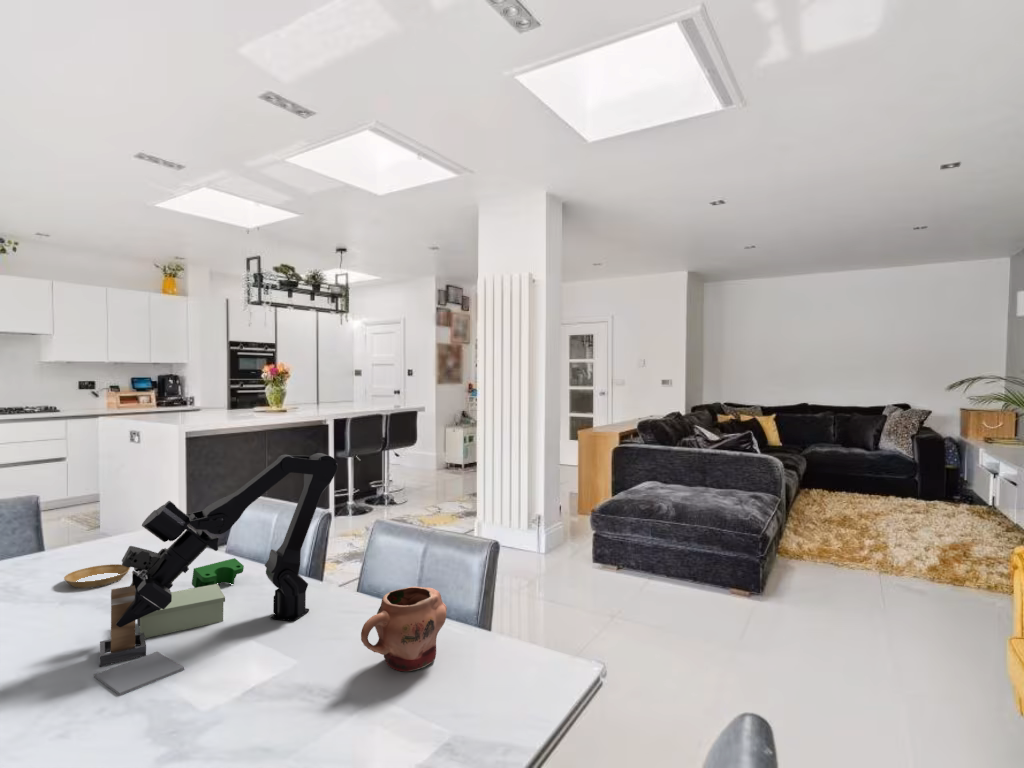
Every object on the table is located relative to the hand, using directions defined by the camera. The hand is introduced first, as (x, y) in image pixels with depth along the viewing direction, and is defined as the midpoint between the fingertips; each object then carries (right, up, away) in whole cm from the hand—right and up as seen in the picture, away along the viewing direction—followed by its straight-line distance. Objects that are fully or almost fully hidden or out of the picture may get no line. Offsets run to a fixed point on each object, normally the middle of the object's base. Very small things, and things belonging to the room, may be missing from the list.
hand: (117, 617), depth 114 cm
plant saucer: (-35, -8, +41) cm, 55 cm away
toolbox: (+4, -8, +16) cm, 18 cm away
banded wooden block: (+1, -8, +1) cm, 8 cm away
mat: (+9, -8, -7) cm, 14 cm away
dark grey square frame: (+1, -8, +1) cm, 8 cm away
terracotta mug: (+59, -9, -2) cm, 60 cm away
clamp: (0, -8, +39) cm, 40 cm away
